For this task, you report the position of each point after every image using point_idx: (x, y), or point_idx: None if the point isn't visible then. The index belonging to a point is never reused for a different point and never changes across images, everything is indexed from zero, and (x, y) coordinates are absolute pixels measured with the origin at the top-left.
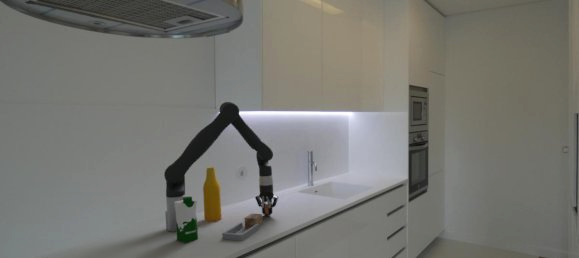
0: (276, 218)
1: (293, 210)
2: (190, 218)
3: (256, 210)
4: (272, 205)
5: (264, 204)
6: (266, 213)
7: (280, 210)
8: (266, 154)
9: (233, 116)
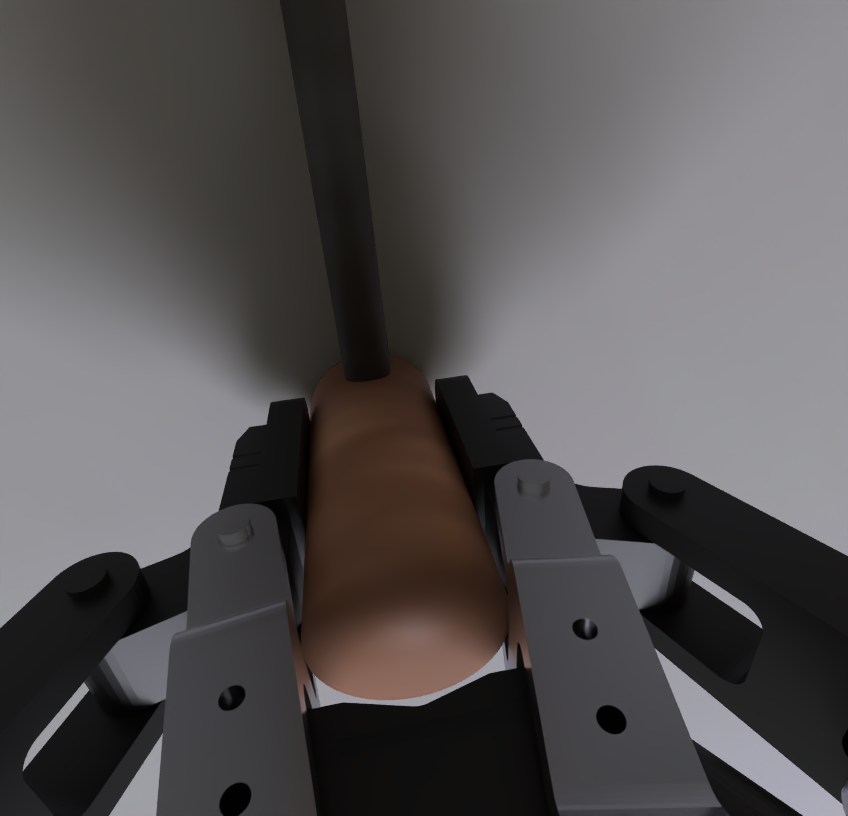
0: (55, 338)
1: (155, 784)
2: None
3: (725, 592)
4: (90, 611)
5: (491, 579)
6: (366, 388)
7: None
8: None
9: None
